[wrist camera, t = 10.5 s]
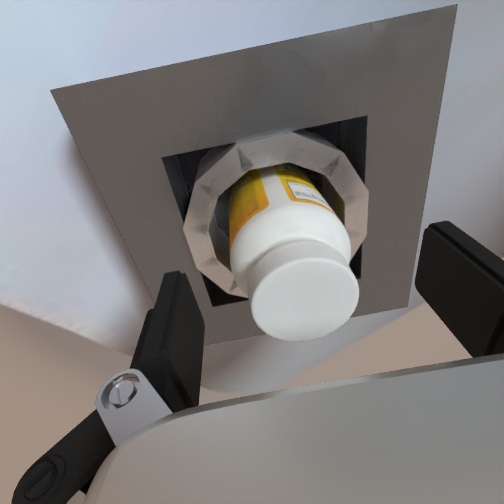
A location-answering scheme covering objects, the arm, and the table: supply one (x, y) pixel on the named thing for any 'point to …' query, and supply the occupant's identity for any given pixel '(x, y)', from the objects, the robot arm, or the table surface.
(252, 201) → the supplement bottle
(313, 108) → the bore block
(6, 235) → the table surface
